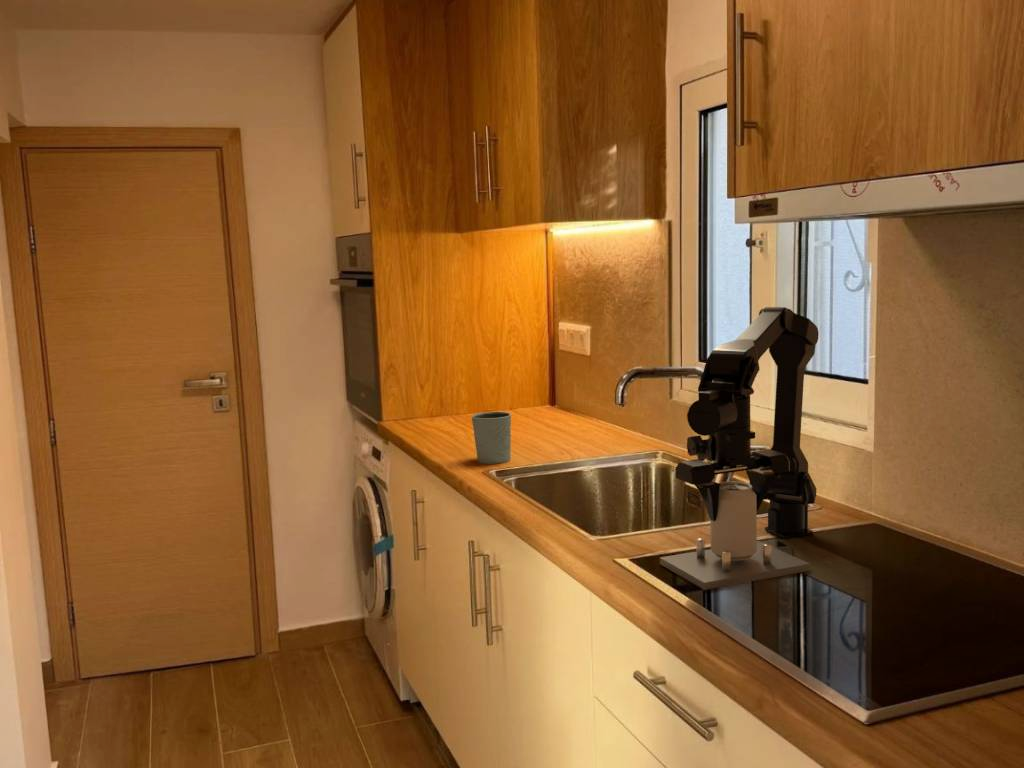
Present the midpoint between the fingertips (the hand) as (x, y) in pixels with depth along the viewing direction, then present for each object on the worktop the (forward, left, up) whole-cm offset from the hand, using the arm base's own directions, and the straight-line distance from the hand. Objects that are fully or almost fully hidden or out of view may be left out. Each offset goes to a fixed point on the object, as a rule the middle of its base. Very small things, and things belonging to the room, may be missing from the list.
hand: (733, 517), depth 162 cm
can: (0, 0, -7) cm, 7 cm away
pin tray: (0, 0, -9) cm, 9 cm away
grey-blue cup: (+7, -99, -9) cm, 100 cm away
